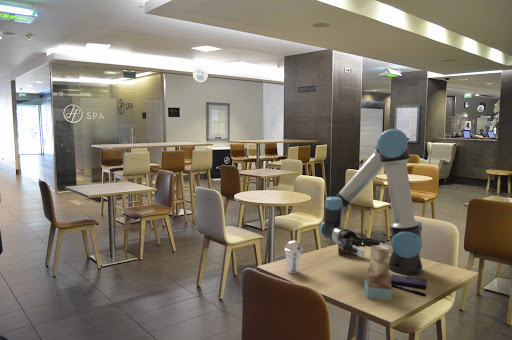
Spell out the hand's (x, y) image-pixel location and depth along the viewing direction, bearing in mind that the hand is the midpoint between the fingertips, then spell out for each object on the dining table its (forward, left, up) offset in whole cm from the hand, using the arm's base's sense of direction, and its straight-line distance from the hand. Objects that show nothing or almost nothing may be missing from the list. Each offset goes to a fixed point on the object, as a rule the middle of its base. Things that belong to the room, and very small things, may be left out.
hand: (377, 252), depth 154 cm
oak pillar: (-1, 0, -8) cm, 8 cm away
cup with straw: (+33, -17, -17) cm, 40 cm away
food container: (+6, -48, -17) cm, 51 cm away
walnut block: (-1, +1, -12) cm, 12 cm away
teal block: (-1, +1, -17) cm, 17 cm away
